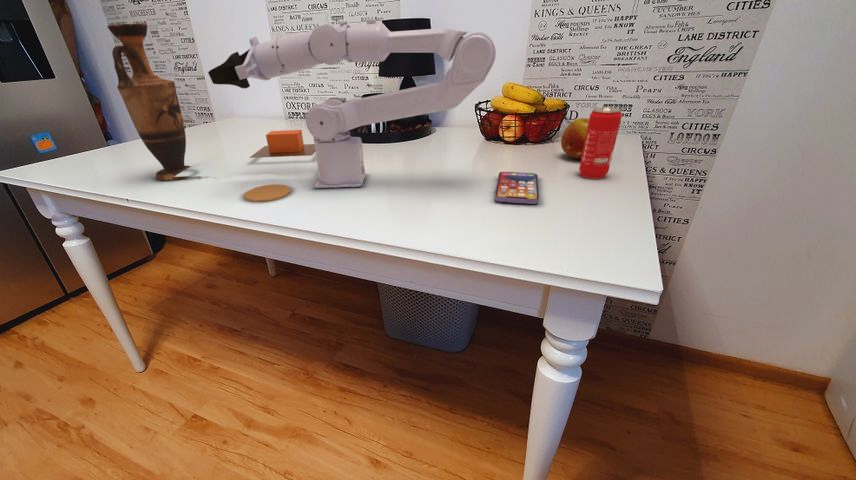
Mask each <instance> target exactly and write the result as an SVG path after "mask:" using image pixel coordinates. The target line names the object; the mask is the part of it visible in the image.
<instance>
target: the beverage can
mask: <svg viewBox="0 0 856 480" xmlns="http://www.w3.org/2000/svg"><path fill="white" fill-rule="evenodd" d="M622 110H623V109H621V108H617V107H595V108H592V112H591V113H590V114H589V117H588V119H589V123H588V128H587V133H586V138H585V143H584V148H583V153H582V158H580V163H579V174H580V176H581V177H582V178H585V179H590V180H591V179H593V180H600V179H604V178H606V175H607V174H608V172H610V166H611V162H612V158H613V155H614V150H615V145H616V142H617V137H618V133H619V129H620V125H621V122H622V117H623V113H622Z"/></svg>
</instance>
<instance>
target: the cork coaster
mask: <svg viewBox="0 0 856 480" xmlns="http://www.w3.org/2000/svg"><path fill="white" fill-rule="evenodd" d="M291 193H292V192H291V188H290V186H288V185H285V184H266V185H261V186H257V187H253V188H251V189H249V190H247V191H245V192H244V194H243V198H244V199H245V200H246V201H248V202H253V203H264V202H271V201H272V202H273V201H276V200H279V199H282V198H285V197H286V196H288V195H290V194H291Z"/></svg>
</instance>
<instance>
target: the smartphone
mask: <svg viewBox="0 0 856 480" xmlns="http://www.w3.org/2000/svg"><path fill="white" fill-rule="evenodd" d="M538 177H539V176H538V174H537V173H533V172H517V171H500V172H499V173H498V175H497V183H496V188H495V191H494V200H495V201H496V202H501V203H514V204H526V205H527V204H529V205H537V204H539V200H540V193H539V192H540V190H539V189H540V188H539V178H538Z"/></svg>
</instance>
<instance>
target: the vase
mask: <svg viewBox="0 0 856 480" xmlns="http://www.w3.org/2000/svg"><path fill="white" fill-rule="evenodd" d="M106 27H107V28H108V30H109V31H110V33H111V34H112V35H113V36H114V37H115V38H116V39H117V40H119V41H120V43H121V44H122V45H116V46H114V47H113V48H112V51H111V55H112V59H113V65H114V69H115V73H116V76H117V80H118V81H117V82H118V83H117V86H116V88H117V90H118V92H119V94H120V96H121V98H122V101H123V103H124V106H125V108H126V110H127V112H128V115H129V117H130V119H131V121H132V124H133V126H134V129H135V130H136V132H137V134H138V135H139V138H140V139H141V141H142V143H143V144H144V146H145V147H146V148H147V150H148V151H149V152H150V154H152V156H153V157H154V158H155V159H156V161H158V163H160V165H161V167H162V168H161V169H159V170H158V171H157V172H156V173H155V177H156V179H157V180H159V181H173V180H175V181H176V180H180V179H184V178H188V177H189V176H188V175H182V176H177V175H179V174H181V173H183V172H184V171H186V170H188V169H189V168H191V167H192V165H185V157H186V150H187V137H186V128H185V123H184V118H183V114H182V109H181V106H180V101H179V98H178V94H177V88H176V83H175V81H174V80H171V79H170V80H169V79H164V78H162V77H159V76H158V75H156V74H155V73H154V72H153V70H152V68H151V65H150V63H149V60H148V57H147V54H146V51H145V47H144V39H145V38H146V37H147V35H148V34H147V33H148V24H147V23H120V24H109V25H106ZM122 54H123V55H124V56H125V58H126V60H127V62H128V64H129V66H130V68H131V70H132V75H131V77H130V76H129V74H128V73H127V71H126V68H125V65H124V61H123V57H122Z"/></svg>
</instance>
